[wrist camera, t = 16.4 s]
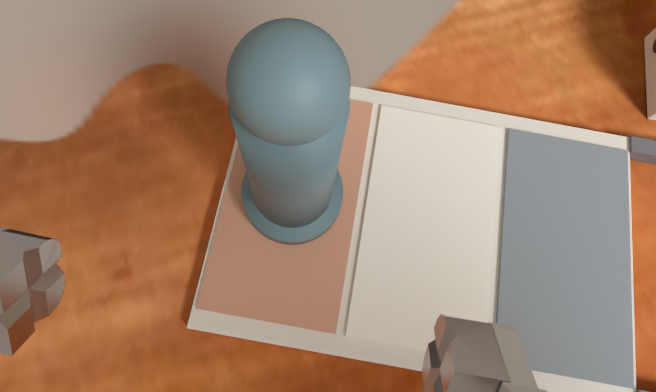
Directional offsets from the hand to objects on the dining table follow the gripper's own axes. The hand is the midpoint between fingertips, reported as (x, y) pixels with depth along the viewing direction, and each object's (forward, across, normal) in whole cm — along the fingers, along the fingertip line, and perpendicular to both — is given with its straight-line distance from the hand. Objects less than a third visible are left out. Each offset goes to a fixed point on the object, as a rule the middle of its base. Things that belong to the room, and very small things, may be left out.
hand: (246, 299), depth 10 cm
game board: (+15, -10, +6) cm, 19 cm away
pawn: (+14, +1, +5) cm, 15 cm away
